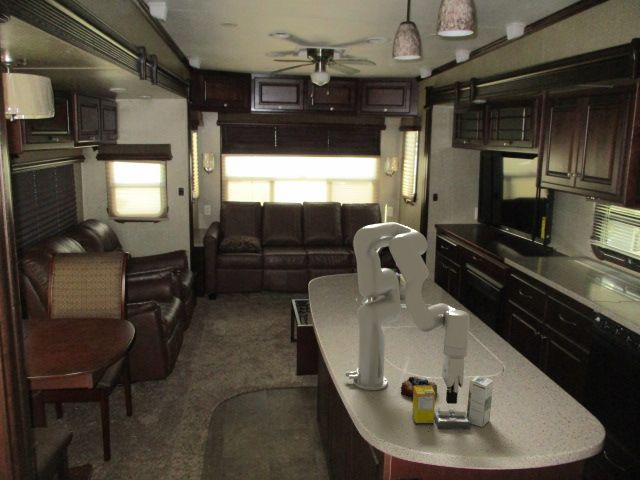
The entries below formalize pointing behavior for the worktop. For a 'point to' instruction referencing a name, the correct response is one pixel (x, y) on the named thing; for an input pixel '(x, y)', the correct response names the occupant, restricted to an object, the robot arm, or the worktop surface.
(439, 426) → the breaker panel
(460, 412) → the breaker paddles
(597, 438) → the worktop surface
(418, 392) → the supplement box
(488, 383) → the syrup box
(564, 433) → the worktop surface
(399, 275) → the chalk box
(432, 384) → the pastry
